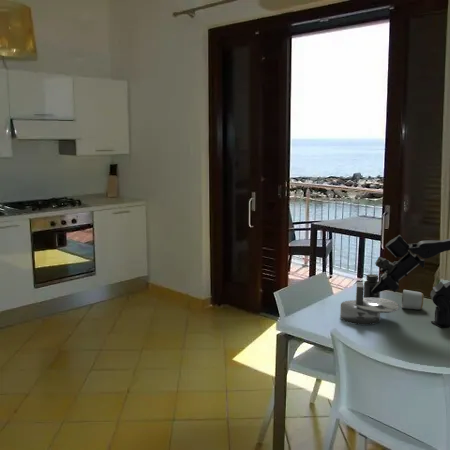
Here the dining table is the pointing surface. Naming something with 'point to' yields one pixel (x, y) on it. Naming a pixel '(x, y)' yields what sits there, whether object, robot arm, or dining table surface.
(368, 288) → the supplement bottle
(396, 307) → the grey disc with post
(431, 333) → the dining table surface
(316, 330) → the dining table surface
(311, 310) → the dining table surface
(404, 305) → the grey rounded block
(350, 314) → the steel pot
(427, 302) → the dining table surface
